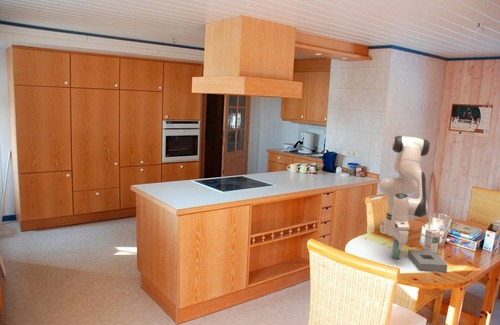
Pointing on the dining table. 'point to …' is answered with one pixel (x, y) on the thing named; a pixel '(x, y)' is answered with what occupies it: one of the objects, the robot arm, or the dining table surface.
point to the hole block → (427, 261)
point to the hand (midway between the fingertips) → (397, 245)
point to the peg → (396, 250)
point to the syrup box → (432, 240)
